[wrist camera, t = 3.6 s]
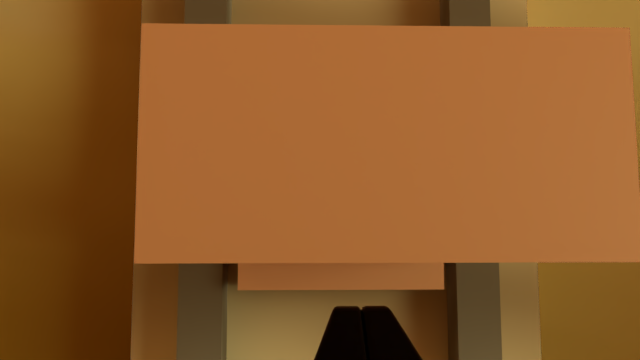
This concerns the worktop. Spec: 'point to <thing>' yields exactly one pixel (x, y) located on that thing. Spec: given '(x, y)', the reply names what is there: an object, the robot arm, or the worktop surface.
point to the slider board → (316, 305)
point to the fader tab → (383, 150)
